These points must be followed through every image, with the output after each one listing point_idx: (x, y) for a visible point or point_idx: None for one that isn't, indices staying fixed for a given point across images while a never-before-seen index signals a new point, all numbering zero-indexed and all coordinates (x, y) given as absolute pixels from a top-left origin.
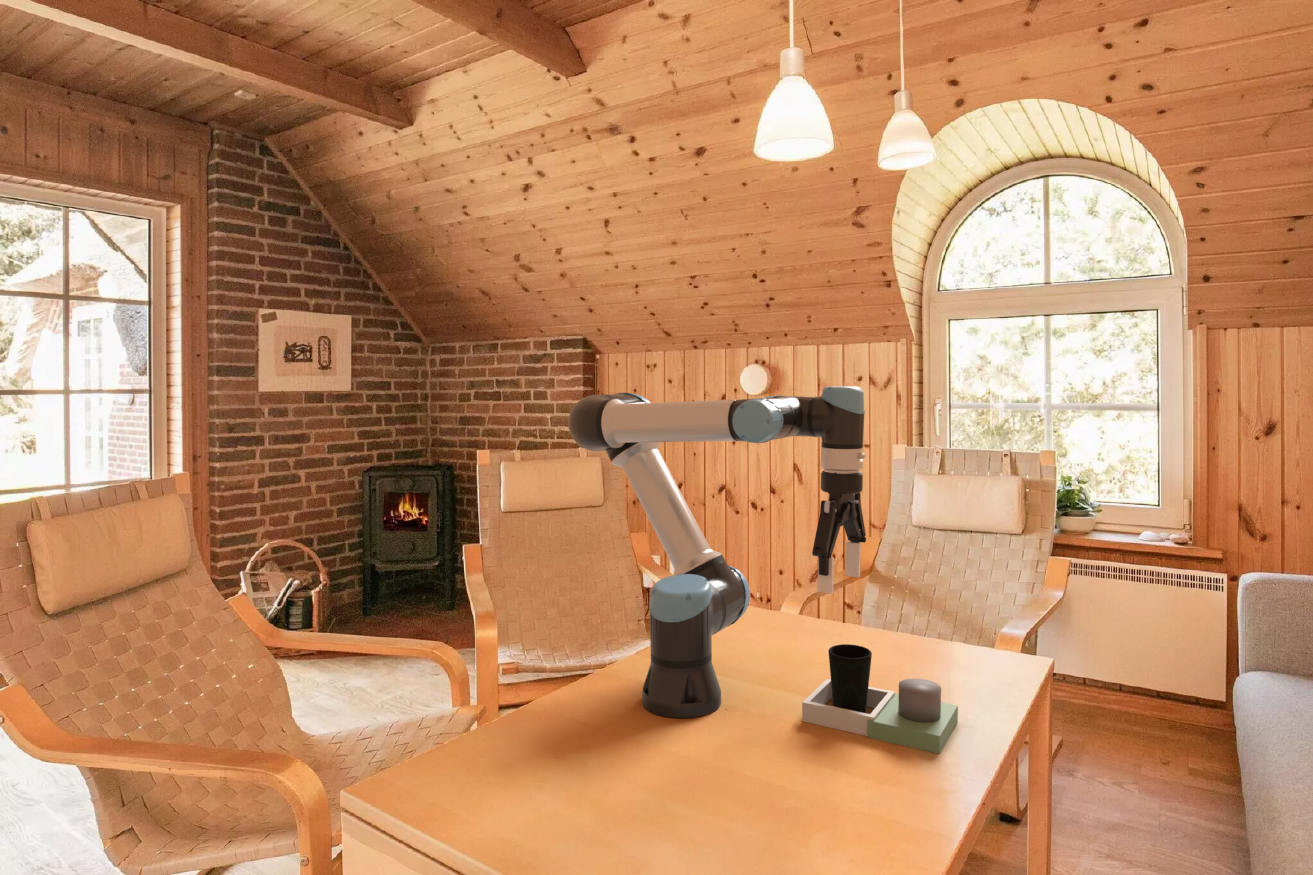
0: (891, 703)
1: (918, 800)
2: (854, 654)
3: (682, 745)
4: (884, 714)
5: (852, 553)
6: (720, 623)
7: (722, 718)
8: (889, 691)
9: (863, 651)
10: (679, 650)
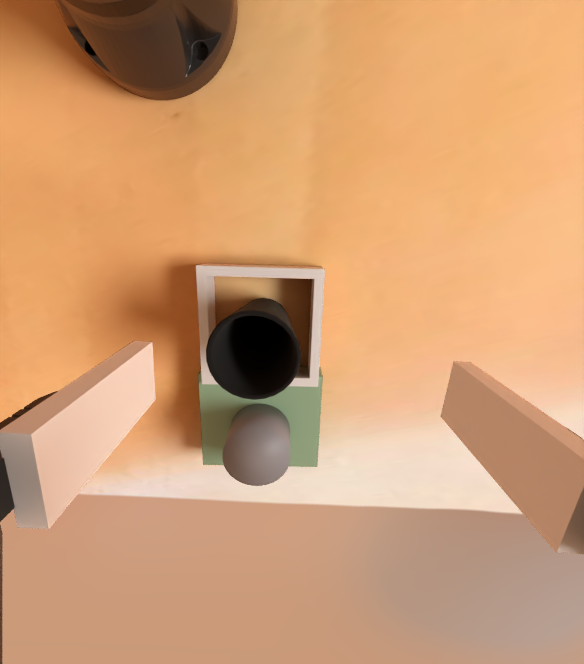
0: None
1: None
2: (293, 349)
3: (4, 112)
4: None
5: (516, 457)
6: None
7: (137, 128)
8: (315, 379)
9: (289, 373)
10: None
